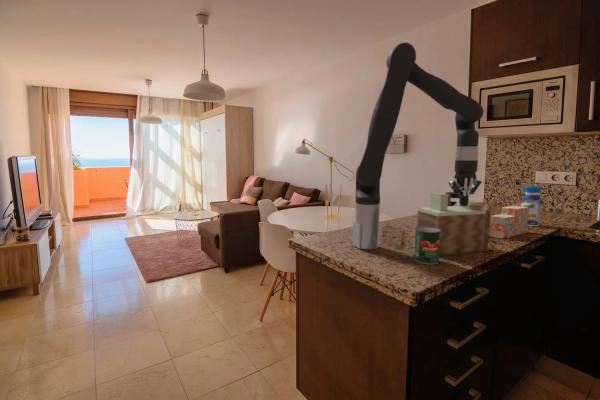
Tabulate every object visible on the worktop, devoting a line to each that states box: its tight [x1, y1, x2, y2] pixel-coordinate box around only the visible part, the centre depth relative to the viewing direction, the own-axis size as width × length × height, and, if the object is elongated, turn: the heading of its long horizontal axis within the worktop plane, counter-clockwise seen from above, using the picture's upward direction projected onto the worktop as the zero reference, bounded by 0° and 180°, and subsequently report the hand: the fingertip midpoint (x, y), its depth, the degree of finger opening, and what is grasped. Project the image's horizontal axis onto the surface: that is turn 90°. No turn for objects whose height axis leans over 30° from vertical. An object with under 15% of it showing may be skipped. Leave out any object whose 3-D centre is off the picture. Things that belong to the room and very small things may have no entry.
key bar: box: [456, 199, 488, 211], centre depth 123 cm, size 3×12×2 cm, turn 14°
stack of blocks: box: [489, 205, 529, 239], centre depth 147 cm, size 21×6×12 cm, turn 123°
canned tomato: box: [413, 226, 441, 265], centre depth 110 cm, size 8×8×11 cm
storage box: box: [416, 210, 486, 257], centre depth 122 cm, size 20×12×14 cm, turn 104°
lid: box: [417, 192, 486, 216], centre depth 121 cm, size 20×12×9 cm, turn 104°
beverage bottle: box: [520, 185, 543, 227], centre depth 166 cm, size 8×8×20 cm
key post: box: [483, 208, 491, 252], centre depth 125 cm, size 4×8×16 cm, turn 14°
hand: (463, 205), depth 122 cm, fingers closed
